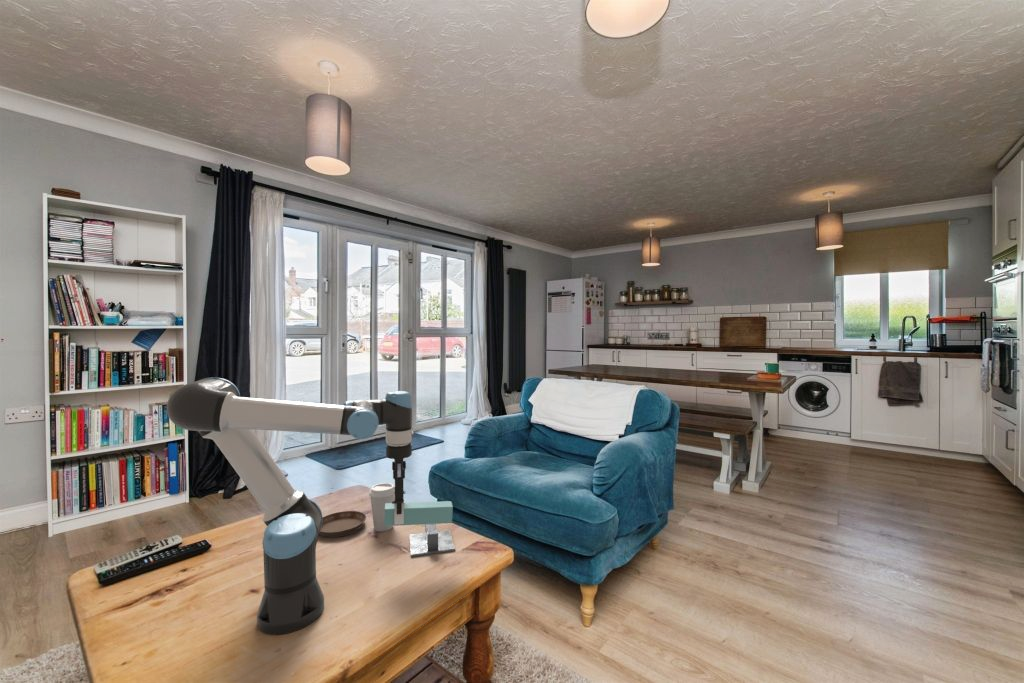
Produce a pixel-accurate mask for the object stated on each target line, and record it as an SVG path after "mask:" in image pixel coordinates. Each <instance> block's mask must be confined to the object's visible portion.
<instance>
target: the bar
mask: <svg viewBox="0 0 1024 683" xmlns="http://www.w3.org/2000/svg"><path fill="white" fill-rule="evenodd" d="M453 509H454V505H453V502H452V500H451V501H450V500H446V501H445V500H444V501H443V500H442V501H417V502H415V501H412V502H404V524H398V525H394V504H392V503H385V515H384V526H393V527H394V526H395V527H396V526H413V525H417V526H418V525H419V526H420V525H425V524H436V525H438V524H440V525H441V524H452V523H453V513H454V512H453Z"/></svg>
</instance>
